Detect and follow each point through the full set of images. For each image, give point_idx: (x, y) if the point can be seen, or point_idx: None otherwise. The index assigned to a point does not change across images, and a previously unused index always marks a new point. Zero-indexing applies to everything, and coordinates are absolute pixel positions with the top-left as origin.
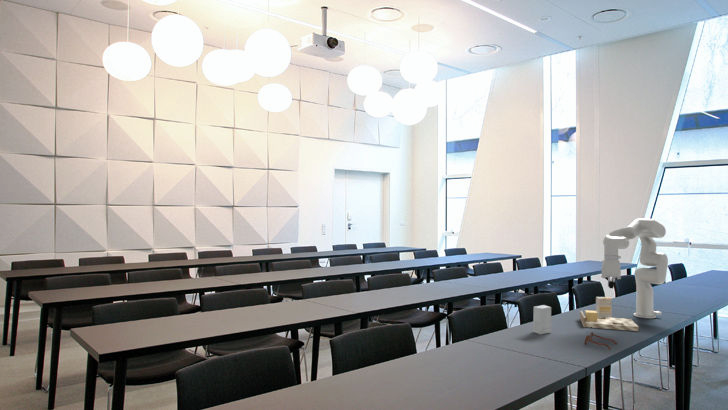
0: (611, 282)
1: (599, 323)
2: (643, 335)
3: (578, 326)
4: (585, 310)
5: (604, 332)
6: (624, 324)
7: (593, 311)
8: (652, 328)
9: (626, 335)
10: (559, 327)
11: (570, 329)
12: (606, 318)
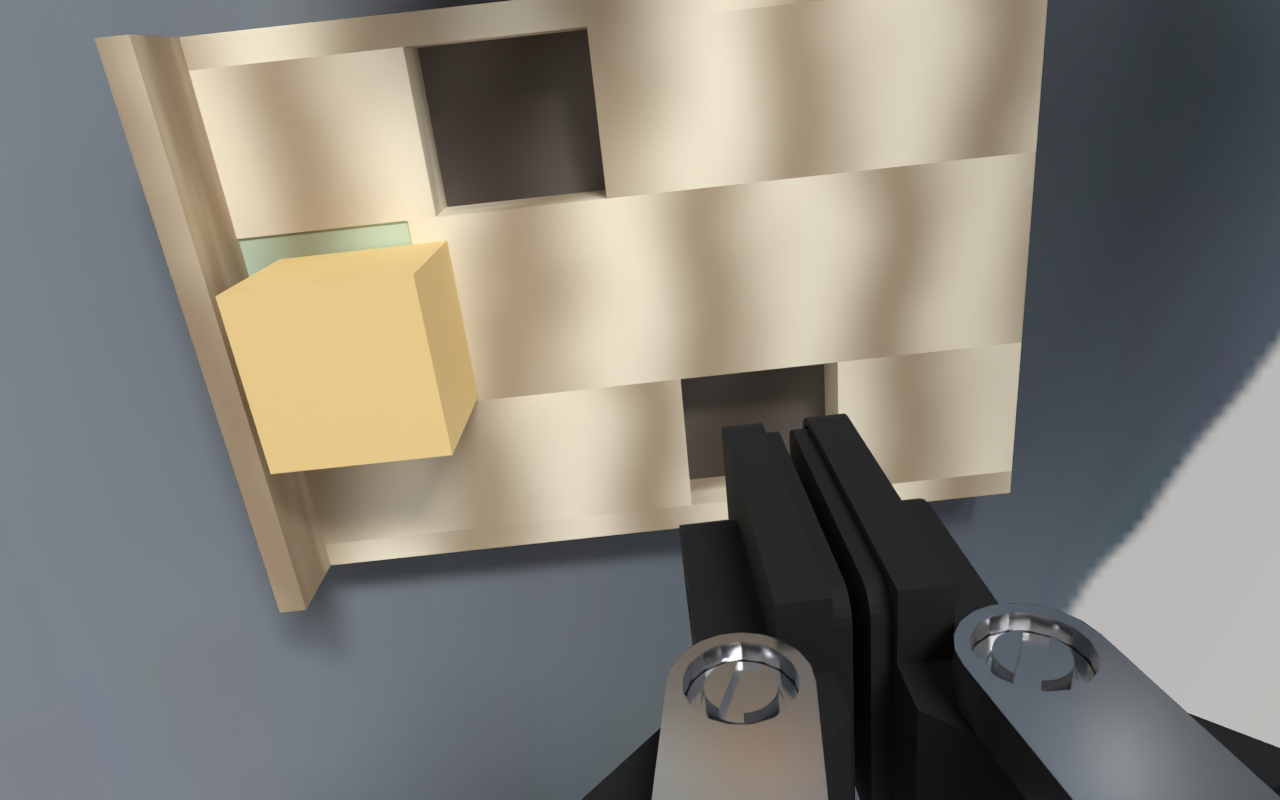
0: (861, 758)
1: (510, 524)
2: None
3: None
4: (224, 312)
5: (575, 684)
6: None
7: (377, 357)
8: (1231, 214)
9: None
10: (66, 680)
11: (205, 713)
12: (615, 108)
